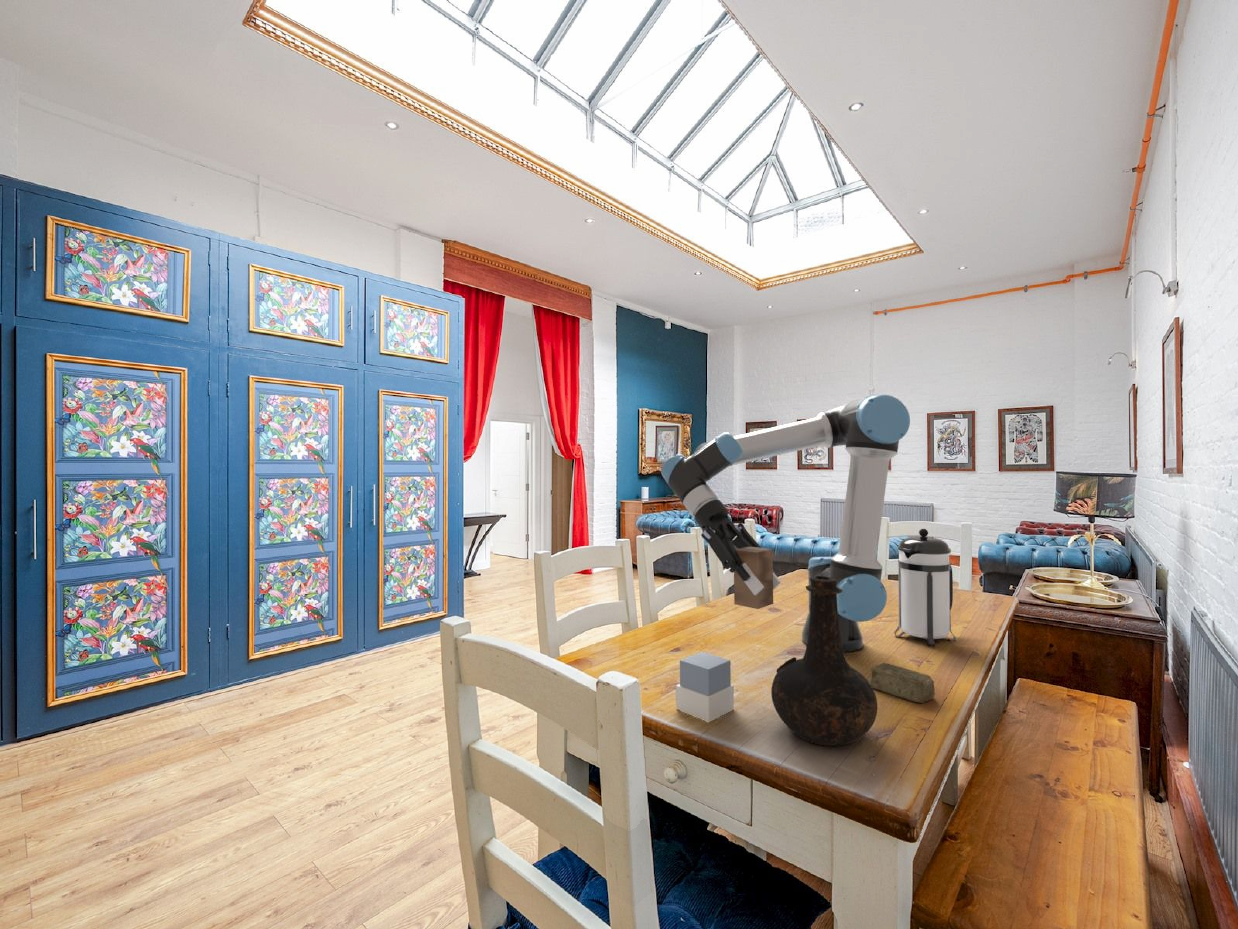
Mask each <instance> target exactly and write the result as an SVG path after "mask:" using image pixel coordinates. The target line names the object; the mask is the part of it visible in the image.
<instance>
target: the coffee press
mask: <svg viewBox="0 0 1238 929" xmlns="http://www.w3.org/2000/svg"><path fill="white" fill-rule="evenodd" d="M918 534H919V536H915V537H914V536H913V537H906V538H903V539H902V540H901V541H900V542H899V545H897V550H898V553H899V554H898V561H897V562H898V571H897V572H898V626H897V628H896V629H895V630H894V632H893V635H895V637H896V638H901V637H903V635H905V634H906V635H909V636H912V637H915V638H920V639H925V641H926V644H927V647H935V640H938V639H944V638H947V639H948V640H950V641H951V642H954V641H956V636H955V635H954V634H953V632H952V628H951V625H952V624H951V623H952V622H951V610H952V607H953V601H954V598H953V597H954V591H953V590H954V588H953V587H954V583H953V568H952V565H951V563H950V555H951V552H952V549H951V548H950V546H949V544H948V543H947V542H946V541H945V540H942V539H939V538H934V537H927V536H928V535H929V531H928V529H927V528H921V529H919V531H918ZM899 630H901V631H902V632H901V633H900V634H898V635H897V633H898V632H899ZM949 634H951V635H952V636H953V638H950V637H948V636H949Z"/></svg>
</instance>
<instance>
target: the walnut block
mask: <svg viewBox="0 0 1238 929" xmlns="http://www.w3.org/2000/svg"><path fill="white" fill-rule="evenodd" d="M735 551H736V552H737V554H738V556H739V558H740V560H741V562H742V564H743V563H746V564H747V566H748V567H749V568H750V569H751V571H752V572H753V573H754V575H755V576H756V577H757V578H758V580H759V581H760V582H761V584H762V585H763V586H764V588H763V589H762V590H761V591H760V592H759V593H758V594H757V595H754V594H753V593H752V591H751V590H750V589H749V587H748V586H747V585H746V583H745V582H744V581H743V580H742V579H741V577H740V576H739V575H738V573H737V572H736V571H734V572H733V592H734V593H733V595H734V596H733V601H734V603H733V604H734V605H737V606H741V607H744V608H745V607H746V608H751V609H756V610H759V609H763V608H766V607H769V606H772V605H774V590H773V572H774V569H773V568H774V564H773V563H774V562H773V560H774V559H773V558H774V556H773V555H774V554H773V551H774V549H772V548H765V547H761V548H758V547H744V548H739V549H738V548H735ZM742 564H741V565H742Z"/></svg>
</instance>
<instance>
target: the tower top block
mask: <svg viewBox="0 0 1238 929" xmlns="http://www.w3.org/2000/svg"><path fill="white" fill-rule="evenodd" d="M731 671H732V670H731V660H730V659H727V658H724V657H720V656H718V655H714V654H711V653H708V652H704V651H700V652H698V653H695V654H692V655H690V656H687V657H685V658H682V659H680V660H679V684H680V686H682V687H685V688H688V689H691V690H693V691H696V692H699V693H702V694H704V695H707V696H710V695H712V694H714V693H716V692H718V691H721V690H723V689H725V688H727V687H729V686H731V685H732V684H731V683H732V682H731V678H732V677H731V674H732V673H731Z"/></svg>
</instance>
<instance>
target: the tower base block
mask: <svg viewBox="0 0 1238 929" xmlns="http://www.w3.org/2000/svg"><path fill="white" fill-rule="evenodd" d="M734 688H735V687H734V685H733V684H731V686H729V687H727V688H725V689H723V690H721V691H718V692H716V693H714V694H712V695H710V696H707V695H704V694H702V693H699V692H696V691H693V690H691V689H688V688H685V687H682V686H680V683H678V684H675V709H676V708H677V709H679V710H681V711H682V712H681V713H683V712H686V713H688V714H690V715H694V716H696V717H698V718H700V719H704V720H706V721H707V722H706V723H708V722H710V721H712V720H713V719H716V718H717V719H719V718H721V717H722V716H721V715H723V716H724V714H725V715H727V714H728V712H729V713H731V712H732V710H733V711H734V709H735V707H734V706H735V698H734V696H735V695H734V694H735V692H734V691H735V690H734ZM730 711H731V712H730ZM726 713H727V714H726ZM688 714H687V715H688ZM690 715H689V716H690ZM720 716H721V717H720ZM718 717H719V718H718ZM698 718H697V719H698ZM700 719H699V720H700ZM717 719H716V720H717ZM712 722H713V721H712ZM710 723H711V722H710Z"/></svg>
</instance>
